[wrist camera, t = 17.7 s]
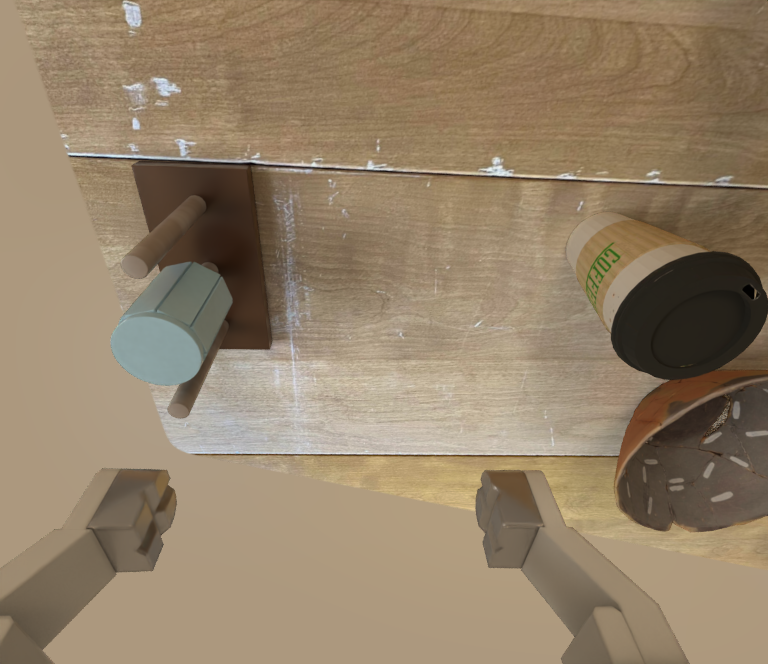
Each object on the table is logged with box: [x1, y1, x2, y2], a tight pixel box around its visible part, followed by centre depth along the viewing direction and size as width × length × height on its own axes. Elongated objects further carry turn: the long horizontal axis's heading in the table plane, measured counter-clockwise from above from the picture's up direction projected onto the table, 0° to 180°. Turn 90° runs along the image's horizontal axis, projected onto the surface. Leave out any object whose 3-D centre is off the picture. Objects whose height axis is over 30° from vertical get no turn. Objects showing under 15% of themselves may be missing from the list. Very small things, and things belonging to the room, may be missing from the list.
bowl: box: [614, 370, 768, 532], centre depth 50 cm, size 25×25×10 cm
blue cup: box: [111, 261, 233, 386], centre depth 32 cm, size 6×6×8 cm
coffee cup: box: [566, 212, 768, 380], centre depth 35 cm, size 10×10×15 cm
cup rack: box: [121, 161, 272, 418], centre depth 35 cm, size 9×18×14 cm, turn 177°
